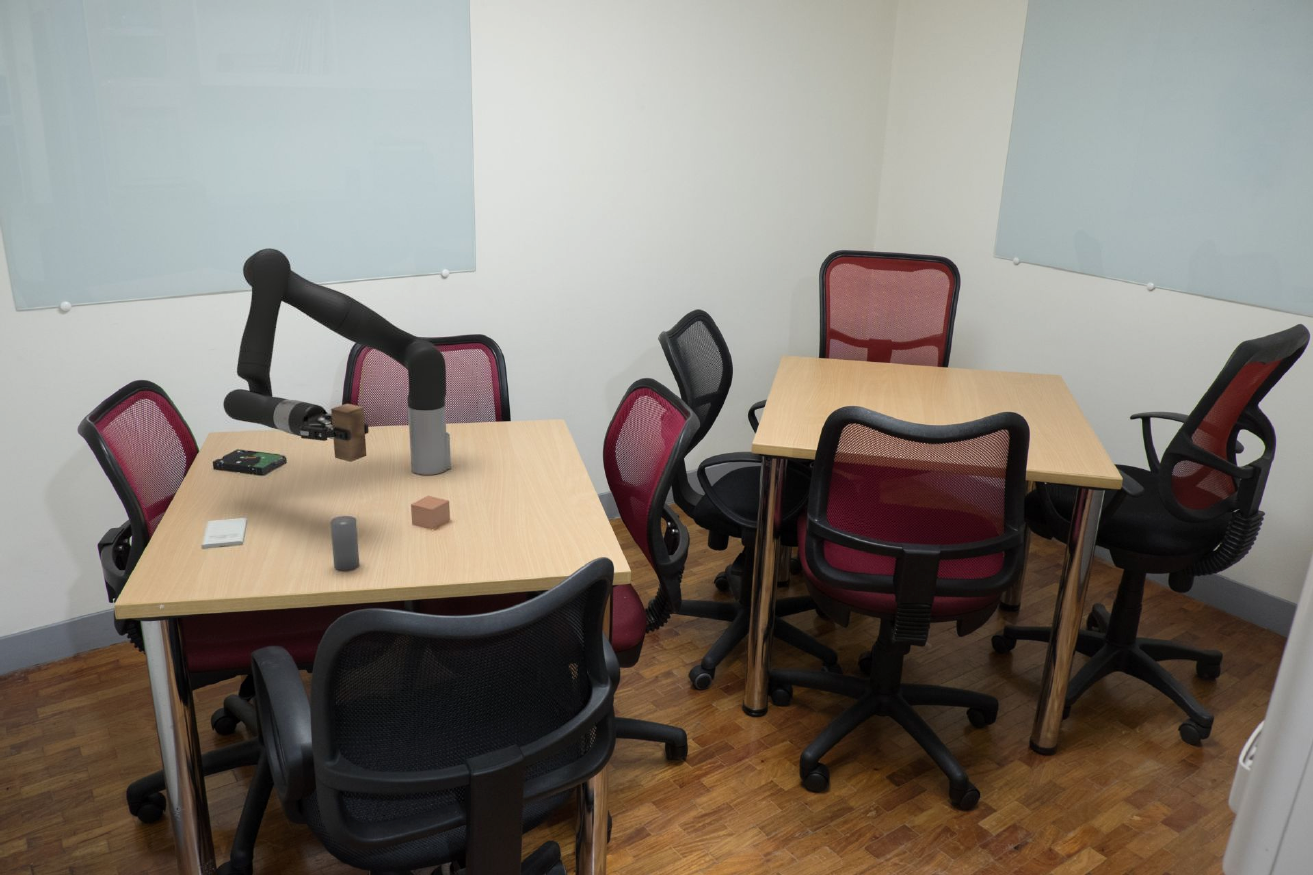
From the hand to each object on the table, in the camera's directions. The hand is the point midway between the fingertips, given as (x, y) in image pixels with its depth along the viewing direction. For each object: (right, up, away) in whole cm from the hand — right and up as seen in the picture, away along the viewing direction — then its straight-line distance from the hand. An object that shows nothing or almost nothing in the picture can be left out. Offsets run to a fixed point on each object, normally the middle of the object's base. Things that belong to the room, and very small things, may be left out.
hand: (358, 432), depth 213 cm
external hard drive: (-31, -23, +6) cm, 39 cm away
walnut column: (-3, -5, +3) cm, 7 cm away
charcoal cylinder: (0, -27, -6) cm, 28 cm away
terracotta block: (+12, -20, +15) cm, 28 cm away
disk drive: (-41, -9, +46) cm, 63 cm away
